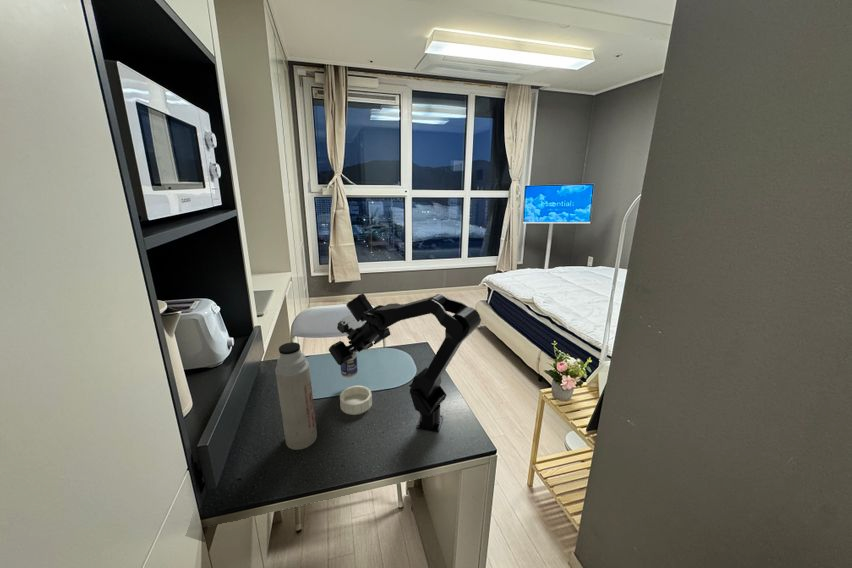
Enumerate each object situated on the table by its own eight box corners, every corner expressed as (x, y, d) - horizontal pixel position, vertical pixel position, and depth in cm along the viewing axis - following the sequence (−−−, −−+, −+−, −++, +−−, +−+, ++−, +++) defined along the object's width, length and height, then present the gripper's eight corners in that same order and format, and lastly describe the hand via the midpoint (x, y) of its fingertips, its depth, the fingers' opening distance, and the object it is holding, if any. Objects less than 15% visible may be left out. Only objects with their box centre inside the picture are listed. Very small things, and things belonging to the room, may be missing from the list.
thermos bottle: (322, 430, 97) (312, 340, 88) (307, 452, 90) (295, 356, 81) (296, 426, 98) (284, 337, 90) (279, 447, 91) (264, 352, 82)
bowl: (364, 417, 102) (363, 407, 101) (334, 411, 104) (333, 401, 103) (376, 397, 111) (376, 388, 110) (349, 392, 113) (348, 383, 112)
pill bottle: (348, 380, 111) (346, 353, 108) (337, 374, 114) (335, 348, 111) (361, 372, 115) (359, 346, 112) (350, 367, 118) (348, 341, 115)
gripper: (374, 301, 113) (351, 324, 122) (330, 321, 98) (308, 346, 107) (394, 329, 111) (369, 350, 120) (352, 353, 96) (328, 376, 106)
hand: (345, 354), depth 113 cm, fingers closed on pill bottle, 5 cm apart
